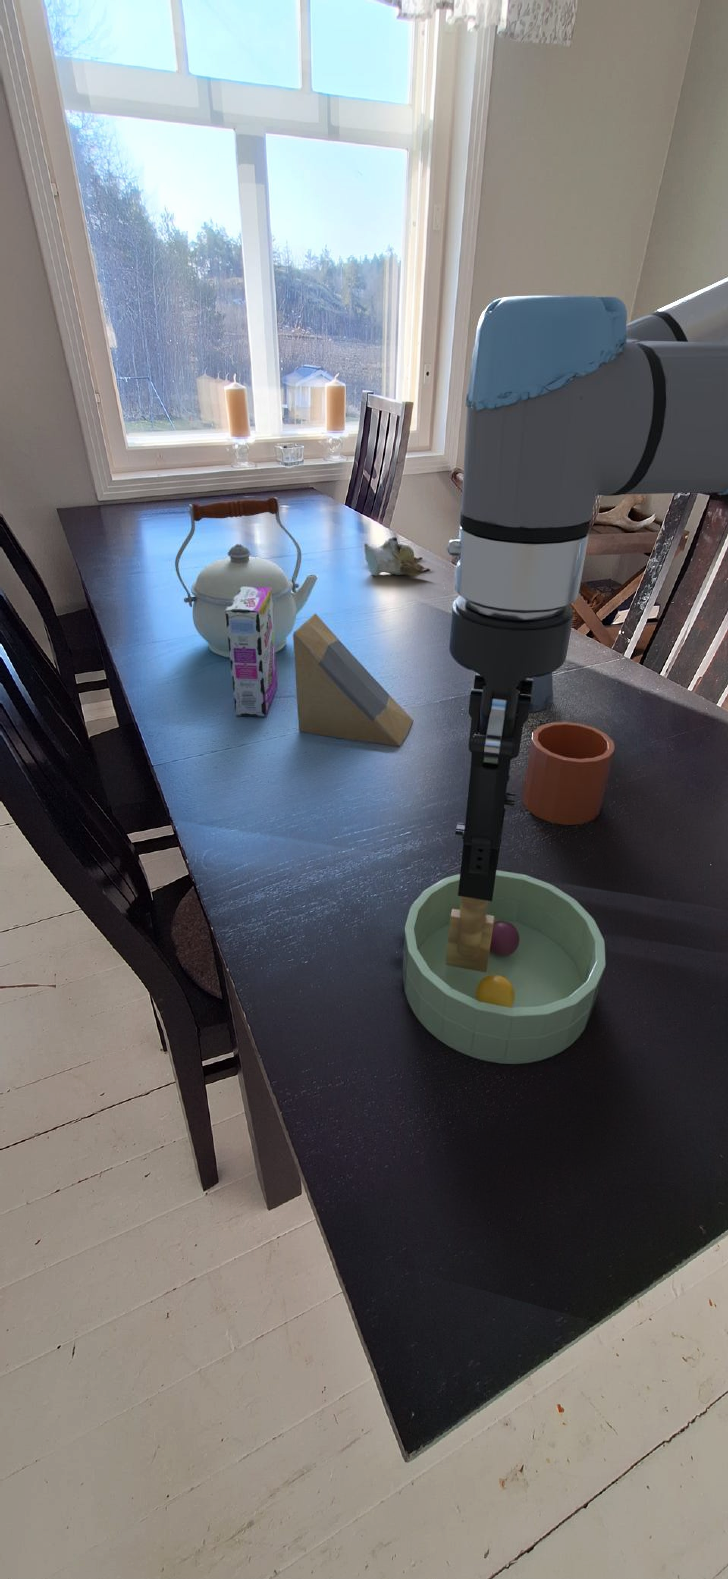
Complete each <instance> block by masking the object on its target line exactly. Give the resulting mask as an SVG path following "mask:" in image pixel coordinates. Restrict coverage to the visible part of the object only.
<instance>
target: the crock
mask: <svg viewBox="0 0 728 1579" xmlns="http://www.w3.org/2000/svg"><path fill="white" fill-rule="evenodd" d="M530 738H531V739H530V745H529V751H528V757H527V762H526V763H527V764H526V770H525V776H524V782H523V787H522V788H523V789H522V796H521V802H522V804H523V805H524V807H525V809H526V810H527V811H528V812H530V813H531V814H532V815H533V816H535V817H537V818H539V819H541V820H544V821H546V822H549V823H551V824H558V825H565V826H573V825H574V826H575V825H583V824H586V823H588V822H590V821H593V820H595V819H596V817H597V816H598V815H599V814H600V812H601V808H602V804H603V800H604V796H605V792H606V787H607V783H608V779H609V775H610V772H611V767H612V762H613V758H614V754H615V742H614V740H613V739H612V738H611V737H610V736H609V735H608V734H607V733H605V732H603V731H601V730H600V729H598V728H597V727H593V726H590V725H587V724H583V723H580V722H570V721H557V722H548V723H546V724H542V725H539V726H538V727H537V728H535V729H534V730H533V731H532V733H531V737H530Z"/></svg>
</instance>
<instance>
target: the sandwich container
mask: <svg viewBox="0 0 728 1579" xmlns="http://www.w3.org/2000/svg"><path fill="white" fill-rule="evenodd" d="M292 640H293V641H292V642H293V643H292V644H293V654H294V655H293V656H294V658H293V659H294V672H295V687H296V691H295V692H296V705H297V706H296V707H297V719H298V720H297V721H298V731H299V732H301V733H308V734H313V735H318V736H325V737H330V738H337V739H343V740H350V741H357V742H358V741H359V742H366V743H372V744H380V745H385V746H392V747H401V746H402V744H403V743H404V741H405V739H406V737H407V736H408V734H409V732H410V729H411V727H412V724H413V722H414V719H413V718H412V717H411V716H410V714H408V713H407V712H406V710H404V709H403V707H402V706H401V705H400V704H399V703H398V702H397V700H395V699H394V698H393V697H392V696H391V695H390V694H389V693H388V692H387V691H386V689H385V688H384V687H383V686H382V685H381V684H380V683H379V682H378V681H377V680H376V679H375V677H374V676H373V675H371V673H370V672H369V671H368V669H366V668H365V666H363V664H362V663H361V662H360V661H359V660H358V659H357V658H356V657H355V656H354V655H353V653H352V652H350V650H349V649H348V648H347V647H346V646H345V645H344V643H343V642H342V641H341V640H340V639H339V638H338V637H337V635H336V634H334V633H333V631H332V630H331V629H330V628H329V627H328V625H327V624H326V623H325V622H324V620H322V619H321V617H320V616H319V615H318V614H317V613H313V615H312V616H310V618H308V619H307V620H306V621H305V622H304V623H303V624H302V625H300V626H299V627H298V628H297V629H296V630H295V631H294V632H293V634H292Z"/></svg>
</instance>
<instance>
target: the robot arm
mask: <svg viewBox="0 0 728 1579" xmlns="http://www.w3.org/2000/svg"><path fill="white" fill-rule="evenodd" d="M627 321H628V310H627V307H626V304H625V303H624V301H623V300H622V299H621V298H619V297H616V296H595V295H516V296H515V295H514V296H504V297H500V298H497V299H495V300H493V301H492V302H491V303H489V304H488V305H487V306H486V308H485V309H484V310H483V311H482V313H481V315H480V317H479V319H478V323H477V327H476V334H475V338H474V339H475V341H474V346H473V350H472V358H471V365H470V373H469V374H470V375H469V380H468V381H469V383H468V388H467V389H468V390H467V393H466V397H465V407H466V420H465V422H466V424H465V437H464V438H465V439H464V456H463V471H462V472H463V473H462V491H461V507H460V513H459V514H460V516H459V531H458V539H450V540H449V542H448V544H447V547H446V551H447V553H448V555H449V556H452V557H460V558H459V560H458V561H457V563H456V566H455V581H454V591H456V593H457V594H458V595H459V596H458V597H457V598H456V599H455V600H454V601H453V603H452V605H451V606H452V607H451V619H450V632H449V646H448V647H449V648H448V649H449V653H450V655H451V657H452V659H453V660H454V661H455V662H456V663H457V664H458V665H459V666H461V667H463V669H466V670H468V671H472V672H475V675H474V682H473V688H471V689H470V695H469V704H468V715H469V717H470V729H469V739H468V751H469V752H470V754H471V757H470V760H471V761H470V772H469V781H468V783H469V784H468V791H467V792H468V793H467V801H466V803H467V804H466V812H465V813H466V814H465V822H464V823H463V822H457V823H456V828H455V835H456V836H461V839H462V843H463V844H462V854H461V862H460V872H459V874H460V881H459V890H458V896H463V897H468V898H474V899H480V900H486V901H492V898H493V891H494V884H495V877H496V871H497V870H498V863H499V856H500V849H501V845H502V839H503V829H504V828H503V827H504V820H505V815H506V814H505V813H506V808H505V806H508V807H514V805H515V798H516V793H513V792H507V789H508V784H509V782H510V777H511V775H510V768H511V761H512V760H514V759H517V757H519V755H520V750H521V743H522V735H523V731H524V725H525V724H526V723H527V721H529V716H530V712H529V710H530V704H531V696H532V695H531V692H532V685H533V679H527V678H531V677H540V676H544V675H547V674H550V673H552V674H553V673H554V672H556V671H557V670H559V668H561V667H562V666H563V665H564V663H565V661H566V660H567V656H568V649H569V644H570V638H571V632H572V628H573V623H574V622H573V621H574V616H575V612H574V609H573V608H572V607H571V604H573V603H574V602H576V600H577V599H578V598H579V596H580V588H581V583H582V576H583V572H584V565H585V561H586V560H585V559H586V555H587V554H586V553H587V548H588V543H589V536H590V527H591V520H592V517H593V513H594V508H595V505H596V504H595V503H596V499H597V497H598V496H604V497H605V496H607V497H608V496H610V497H612V496H613V497H614V496H621V495H656V494H657V495H659V494H698V493H699V494H702V493H703V494H704V493H717V495H719V496H723V495H728V277H726V278H724V279H722V280H720V281H718V282H716V283H714V284H712V285H709V286H707V287H704V288H703V289H700V290H698V291H696V292H694V293H692V294H689V295H687V296H685V297H683V298H681V299H679V300H677V301H674V302H672V303H670V304H667V305H665V306H663V307H661V308H658V309H657V310H655V311H654V312H652V313H649V314H647V315H645V316H641V317H639V318H637V319H634V320H633V321H630V322H627Z"/></svg>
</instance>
